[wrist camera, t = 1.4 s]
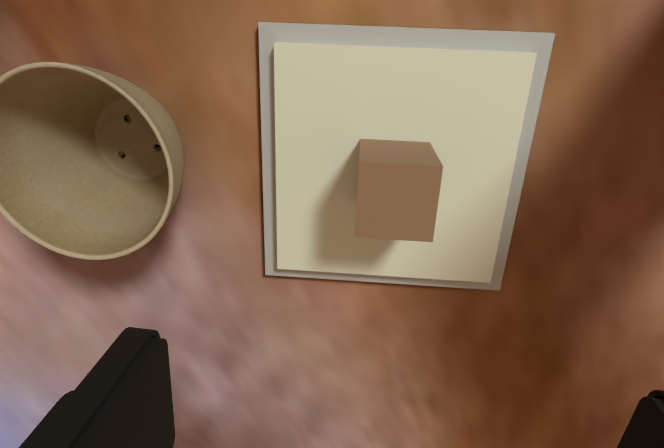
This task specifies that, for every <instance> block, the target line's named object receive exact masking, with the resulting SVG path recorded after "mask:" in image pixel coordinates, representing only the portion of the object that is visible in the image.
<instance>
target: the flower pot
mask: <svg viewBox="0 0 664 448" xmlns="http://www.w3.org/2000/svg"><path fill="white" fill-rule="evenodd" d="M125 117H126V118H127V119H128V122H126V120H125ZM156 144H157V145H159V146H160V147H157V146H156ZM123 155H125V157H124V158H123ZM183 173H184V151H183V145H182V141H181V137H180V134H179V132H178V129H177V127H176V125H175V123H174V121H173V120H172V118H171V117H170V115H169V114H168V112H167V111H166V110H165V109H164V108H163V106H162V105H161V104H160V103H159V102H158V101H157V100H155V99H154V98H153V97H152V96H151V95H149V94H148V93H147V92H145V91H144V90H143V89H141V88H139V87H138V86H136V85H134V84H133V83H131V82H129V81H127V80H125V79H123V78H121V77H118V76H116V75H113V74H111V73H108V72H105V71H101V70H98V69H94V68H90V67H86V66H81V65H76V64H69V63H59V62H38V63H31V64H26V65H23V66H19V67H16V68H14V69H12V70H10V71H8V72H7V73H5V74H3V75H2V76H0V212H1V213H2V215H3V216H4V217H5V218H6V219H7V220H8V221H9V222H10V223H11V224H12V225H13V226H14V227H15V228H17V229H18V230H19V231H20V232H22V233H23V234H24V235H25V236H27V237H28V238H30V239H31V240H33V241H35V242H36V243H38V244H40V245H42V246H43V247H45V248H47V249H49V250H52V251H54V252H57V253H59V254H62V255H66V256H69V257H74V258H79V259H86V260H107V259H113V258H118V257H122V256H125V255H128V254H130V253H132V252H134V251H136V250H138V249H140V248H141V247H143V246H144V245H145V244H147V243H148V242H149V241H150V240H151V239H152V238H153V237H154V236H155V235H156V234H157V233H158V231H159V230H160V229H161V227H162V226H163V225H164V223H165V222H166V220H167V218H168V217H169V215H170V213H171V211H172V209H173V207H174V205H175V202H176V200H177V197H178V195H179V192H180V188H181V184H182V180H183Z"/></svg>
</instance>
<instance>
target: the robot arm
mask: <svg viewBox="0 0 664 448" xmlns="http://www.w3.org/2000/svg"><path fill="white" fill-rule="evenodd" d="M174 440H175V427H174V415H173V403H172V391H171V379H170V367H169V355H168V344H167V341H166V339H162V338H160V335H159V333H158V331H156V330H150V329H141V328H133V327H128V328H126V329H125V330H124V331H123V332H122V333H121V334H120V335H119V336H118V338H117V339H116V340H115V341H114V343H113V344H112V345H111V346H110V348H109V349H108V350H107V351H106V352H105V354H104V355H103V356H102V357H101V359H100V360H99V361H98V362H97V363H96V365H95V366H94V367H93V368H92V370H91V371H90V372H89V373H88V374H87V376H86V377H85V378H84V379H83V381H82V382H81V383H80V384H79V385H78V387H77V388H76V389H75V390H74V391H70V392H68V393H66V394H65V395H64V396H63V397H62V398H61V399H60V400H59V401H58V402H57V403H56V404H55V405H54V406H53V408H52V409H51V410H50V411H49V412H48V414H47V415H46V416H45V417H44V418H43V420H42V421H41V422H40V423H39V424H38V426H37V427H36V428H35V429H34V430H33V432H32V433H31V434H30V435H29V436H28V438H27V439H26V440H25V441H24V442H23V443H22V445H21V446H20V447H19V448H173V445H174ZM617 448H664V391H661V390H654V391H652V392H650V393H649V395H648V396H647V397H643V398H641V400H640V401H639V403H638V405H637V407H636V409H635V411H634V413H633V416H632V418H631V420H630V422H629V424H628V426H627V428H626V430H625V432H624V434H623V436H622V438H621V441H620V443H619V445H618V447H617Z"/></svg>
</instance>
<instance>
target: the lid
mask: <svg viewBox="0 0 664 448" xmlns="http://www.w3.org/2000/svg"><path fill="white" fill-rule="evenodd" d="M536 56H537V53H533V52H510V51H484V50H459V49H434V48H409V47H384V46H359V45H333V44H308V43H283V42H275V43H274V90H275V153H276V216H277V269H288V270H303V271H318V272H333V273H348V274H363V275H378V276H394V277H409V278H424V279H439V280H454V281H469V282H484V283H491V278H492V273H493V268H494V263H495V258H496V253H497V248H498V243H499V238H500V234H501V229H502V224H503V219H504V214H505V209H506V204H507V199H508V194H509V189H510V184H511V179H512V174H513V170H514V165H515V160H516V155H517V150H518V145H519V140H520V135H521V130H522V125H523V120H524V115H525V111H526V106H527V101H528V96H529V91H530V86H531V81H532V76H533V71H534V66H535V61H536Z"/></svg>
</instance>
